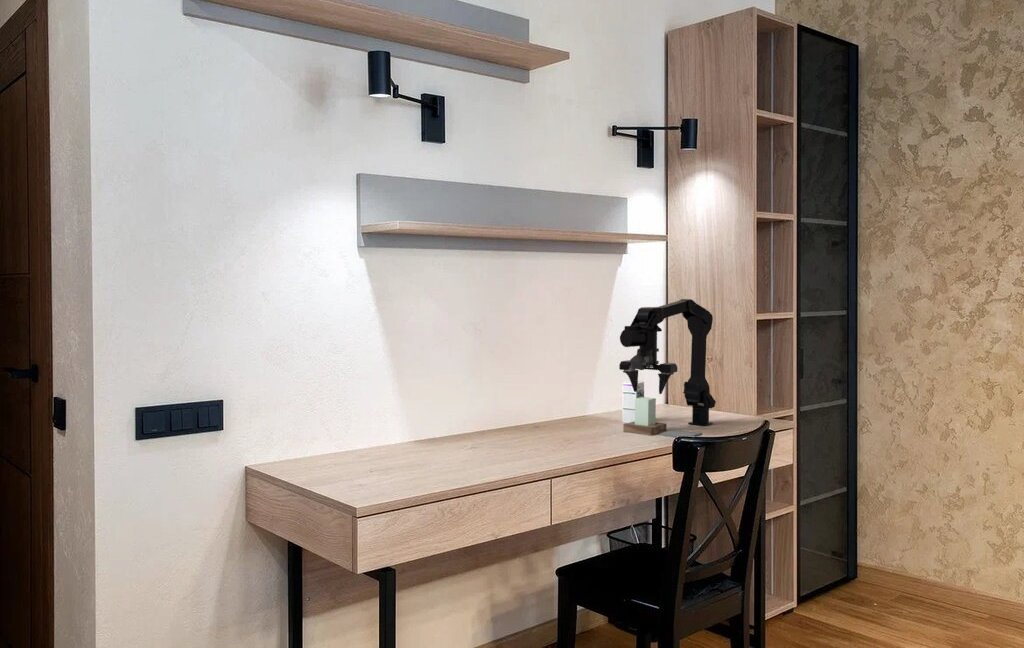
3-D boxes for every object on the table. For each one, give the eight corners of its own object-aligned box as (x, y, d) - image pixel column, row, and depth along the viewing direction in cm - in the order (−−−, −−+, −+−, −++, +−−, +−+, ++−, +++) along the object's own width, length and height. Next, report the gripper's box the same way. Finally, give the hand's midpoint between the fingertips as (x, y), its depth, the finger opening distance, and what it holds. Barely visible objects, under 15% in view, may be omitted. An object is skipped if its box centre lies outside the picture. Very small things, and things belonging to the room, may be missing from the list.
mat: (673, 430, 283) (673, 429, 283) (701, 434, 277) (701, 432, 277) (659, 435, 275) (659, 433, 275) (687, 438, 269) (687, 437, 269)
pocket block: (639, 427, 289) (639, 420, 289) (666, 431, 283) (666, 423, 283) (623, 431, 281) (623, 424, 281) (651, 435, 274) (651, 427, 274)
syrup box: (636, 424, 295) (637, 382, 295) (621, 422, 299) (622, 381, 298) (644, 422, 300) (644, 381, 299) (629, 420, 303) (630, 380, 303)
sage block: (642, 429, 285) (642, 397, 285) (655, 431, 282) (655, 398, 282) (634, 431, 281) (635, 398, 281) (647, 433, 278) (648, 400, 278)
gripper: (611, 345, 278) (610, 393, 279) (662, 348, 267) (662, 398, 268) (627, 343, 287) (627, 389, 288) (678, 346, 276) (677, 394, 277)
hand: (647, 392), depth 280 cm, fingers open, 9 cm apart
